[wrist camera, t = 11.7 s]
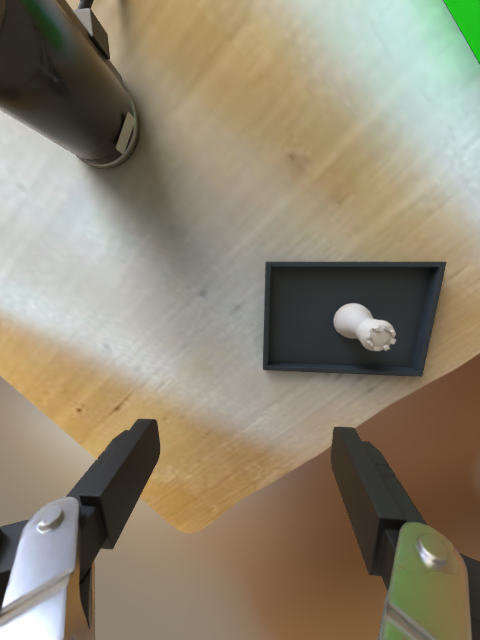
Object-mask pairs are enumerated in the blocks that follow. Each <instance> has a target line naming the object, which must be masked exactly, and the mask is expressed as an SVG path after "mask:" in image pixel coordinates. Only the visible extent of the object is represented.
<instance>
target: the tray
mask: <svg viewBox="0 0 480 640" xmlns="http://www.w3.org/2000/svg"><path fill="white" fill-rule="evenodd" d="M445 266H446V262H266V274H265V310H264V346H263V370H277V371H301V372H325V373H348V374H372V375H396V376H419V377H422V375H423V370H424V365H425V360H426V356H427V351H428V346H429V342H430V337H431V332H432V327H433V323H434V318H435V313H436V309H437V304H438V299H439V294H440V290H441V285H442V280H443V276H444V271H445ZM351 303H356V304H360V305H362V306H364V307H365V308H367V309H368V310H369V311H370V313H371V315H372V317H373V319H376V320H383V321H387V322H388V323H390V324H391V325H392V326H393V329H394V331H395V333H396V335H395V337H394V339H396V342H395V344H392V343H391V344H390V345H389V347H390V349H388V350H386V351H385V350H381V351H371V350H368V349H366V348H365V347H364V346H363V345H362V343H361V341H360V340H359V339H358V338H355V339H351V338H347V337H344V336H343V335H341V334H340V333H338V332H337V331H336V329H335V327H334V316H335V314H336V312H337V311H338V310H339V309H340V308H341V307H342V306H344V305H346V304H351Z"/></svg>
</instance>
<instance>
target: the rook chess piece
mask: <svg viewBox="0 0 480 640" xmlns="http://www.w3.org/2000/svg"><path fill="white" fill-rule="evenodd" d="M334 327H335V329H336V331H337V332H338V333H340V334H341V335H343V336H344V337H347V338H351V339H355V338H358V339H359V340H360V341H361V343H362V345H363V346H364V347H365V348H366V349H368V350H371V351H381V350H385V351H386V350H388V349H390V347H389V345H390V344H391V343H392V344H395V342H396V339H394V337H395V335H396V333H395V331H394V329H393V326H392V325H391V324H390V323H388V322H387V321H383V320H376V319H373V317H372V315H371V313H370V311H369V310H368V309H367V308H365V307H364V306H362V305H360V304H356V303H351V304H346V305H344V306H342V307H341V308H340V309H339V310H338V311H337V312H336V314H335V316H334Z"/></svg>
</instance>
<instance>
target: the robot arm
mask: <svg viewBox="0 0 480 640" xmlns="http://www.w3.org/2000/svg"><path fill="white" fill-rule="evenodd" d="M93 1H94V0H80V3H79V6H78V10H72V9H71V7H70V6H69V5H68V3H67V2H66V1H65V0H0V110H1V111H3V112H4V113H6V114H8V115H9V116H11V117H13V118H14V119H16V120H18V121H19V122H21V123H23V124H24V125H26V126H28V127H29V128H31V129H33V130H35V131H36V132H38V133H40V134H41V135H43V136H45V137H46V138H48V139H50V140H51V141H53V142H55V143H56V144H58V145H60V146H61V147H63V148H65V149H66V150H68V151H70V152H71V153H73V154H75V155H76V156H77V157H79V158H80V159H81V160H83V161H85V162H86V163H88V164H90V165H92V166H95V167H98V168H113V167H116V166H118V165H120V164H122V163H123V162H124V161H126V160H127V159H128V158H129V156H130V155H131V154H132V152H133V150H134V148H135V146H136V143H137V140H138V135H139V119H138V113H137V109H136V106H135V104H134V102H133V99H132V98H131V96H130V94H129V93H128V92H127V90H126V89H125V88H124V86H123V84H122V77H121V75H120V74H119V72H118V71H117V70H116V68H115V67H114V66H113V64H112V63H111V62H110V60H109V59H110V54H109V44H108V35H107V33H106V31H105V30H104V28H103V27H102V25H101V24H100V22H99V21H98V19H97V18H96V16H95V15H94V13H93V12H92V10H91V6H92V3H93ZM159 455H160V440H159V432H158V425H157V421H156V420H155V419H138V420H137V421H136V422H135V423H134V425H133V426H132V427H131V428H130V430H125V431H124V432H122V433H121V434H119V435H118V436H117V437H115V438H114V439H113V440H112V441H111V443H110V444H109V445H108V446H107V447H106V449H105V451H103V452H102V454H101V455H100V456H99V457H98V460H96V461H95V462H94V463H93V464H92V466H91V467H90V468H89V469H88V471H87V472H86V473H85V474H84V476H83V477H82V478H81V479H80V480H79V482H78V483H77V484H76V485H75V486H74V488H73V489H72V490H71V491H70V492H69V494H68V495H67V496H66V497H63V498H59V499H56V500H54V501H52V502H50V503H49V504H47V505H45V506H44V507H42V508H41V509H40V510H39V511H38V512H36V513H35V514H34V515H33V516H32V517H31V518H30V519H29V520H25V521H21V522H17V523H13V524H10V525H5V526H2V527H0V640H95V565H94V559H95V557H96V556H97V554H98V552H99V550H100V548H102V549H113V548H114V546H115V544H116V542H117V540H118V538H119V536H120V534H121V532H122V530H123V528H124V526H125V524H126V522H127V520H128V518H129V516H130V514H131V513H132V511H133V509H134V507H135V504H136V503H137V501H138V499H139V497H140V495H141V493H142V491H143V489H144V487H145V485H146V483H147V481H148V479H149V477H150V475H151V473H152V471H153V469H154V467H155V466H156V464H157V461H158V459H159ZM331 464H332V469H333V473H334V476H335V479H336V482H337V484H338V487H339V490H340V493H341V495H342V498H343V502H344V504H345V507H346V510H347V513H348V516H349V519H350V521H351V524H352V527H353V530H354V533H355V536H356V539H357V541H358V544H359V547H360V549H361V553H362V555H363V559H364V561H365V564H366V567H367V570H368V572H369V575H376V576H382V578H383V581H384V584H385V586H386V588H387V594H386V599H385V605H384V609H383V615H382V621H381V626H380V631H379V637H378V640H480V562H479V561H477V560H474V559H472V558H469V557H467V556H465V555H463V554H461V553H459V552H458V551H457V549H456V548H455V547H454V546H453V544H452V543H451V542H450V541H449V540H448V539H446V538H445V537H444V536H443V535H442V534H440V533H439V532H438V531H436V530H435V529H433V528H431V527H429V526H428V525H427V524H426V522H425V521H424V519H423V518H422V516H421V515H420V513H419V512H418V510H417V509H416V507H415V505H414V504H413V502H412V501H411V499H410V497H409V496H408V494H407V493H406V491H405V490H404V488H403V486H402V485H401V483H400V482H399V480H398V479H397V478H396V477H395V474H394V472H393V471H392V469H391V468H390V467H389V465H388V463H387V461H386V460H385V458H384V457H383V455H382V453H381V452H380V451H379V450H378V449H377V448H375V447H374V446H373V445H372V444H371V443H370V442H364V441H361V439H360V437H359V436H358V434H357V432H356V430H355V429H354V428H350V427H334V430H333V439H332V450H331Z"/></svg>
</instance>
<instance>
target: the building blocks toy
mask: <svg viewBox="0 0 480 640" xmlns="http://www.w3.org/2000/svg"><path fill="white" fill-rule="evenodd" d="M444 2H445V4H446V5H447V7H448V9H449V11H450V12H451V14H452V16H453V18H454V19H455V21H456V23H457V25H458V26H459V28H460V30H461V32H462V33H463V35H464V37H465V39H466V40H467V42H468V44H469V46H470V47H471V49H472V51H473V53H474V54H475V56H476V58H477V60H478V61H479V63H480V0H444Z"/></svg>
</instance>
